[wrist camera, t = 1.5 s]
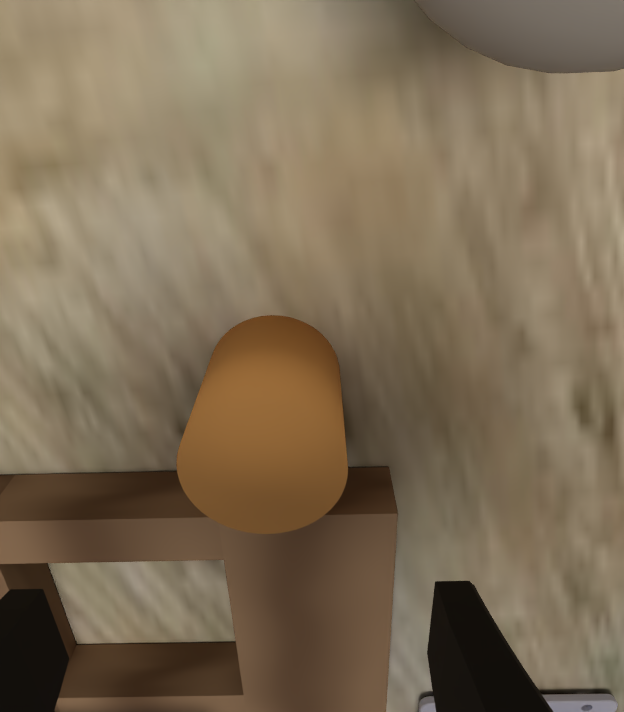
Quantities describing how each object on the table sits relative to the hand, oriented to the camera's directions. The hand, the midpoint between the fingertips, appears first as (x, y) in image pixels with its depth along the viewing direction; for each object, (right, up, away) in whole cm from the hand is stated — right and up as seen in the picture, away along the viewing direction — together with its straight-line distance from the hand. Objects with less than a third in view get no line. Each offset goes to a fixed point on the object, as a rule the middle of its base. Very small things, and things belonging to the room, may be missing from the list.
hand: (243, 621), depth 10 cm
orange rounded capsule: (0, +4, +8) cm, 9 cm away
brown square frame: (-4, -5, +13) cm, 14 cm away
